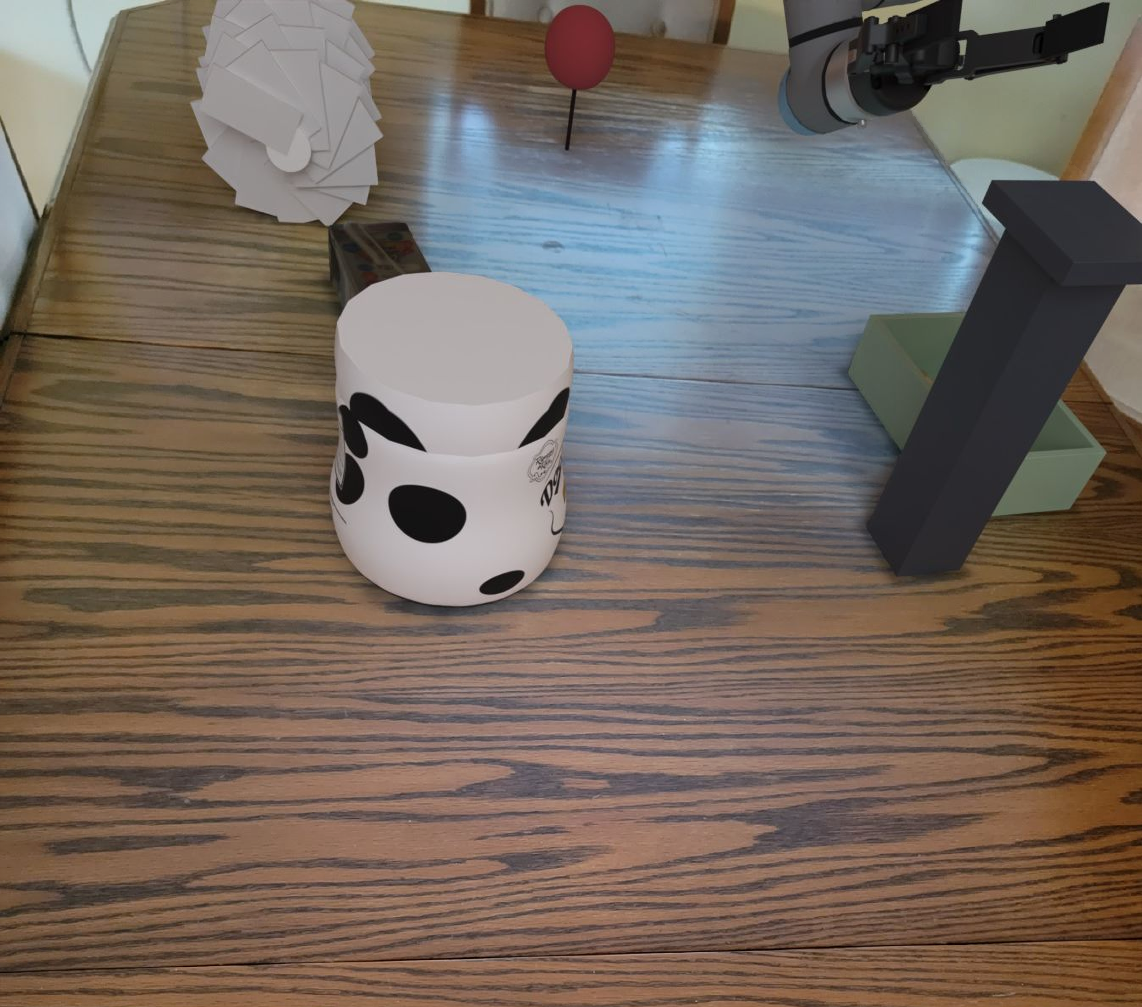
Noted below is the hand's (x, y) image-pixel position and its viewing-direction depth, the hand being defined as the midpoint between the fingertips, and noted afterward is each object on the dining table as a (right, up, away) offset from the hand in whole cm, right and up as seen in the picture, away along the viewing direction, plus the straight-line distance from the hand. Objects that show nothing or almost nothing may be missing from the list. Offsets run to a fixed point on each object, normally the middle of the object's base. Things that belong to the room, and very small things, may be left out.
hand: (1031, 18), depth 80 cm
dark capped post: (-8, -41, +6) cm, 42 cm away
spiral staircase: (-66, +3, +29) cm, 72 cm away
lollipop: (-37, +14, +42) cm, 57 cm away
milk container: (-46, -42, -1) cm, 62 cm away
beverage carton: (-53, -19, +15) cm, 58 cm away
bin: (0, -28, +16) cm, 33 cm away
